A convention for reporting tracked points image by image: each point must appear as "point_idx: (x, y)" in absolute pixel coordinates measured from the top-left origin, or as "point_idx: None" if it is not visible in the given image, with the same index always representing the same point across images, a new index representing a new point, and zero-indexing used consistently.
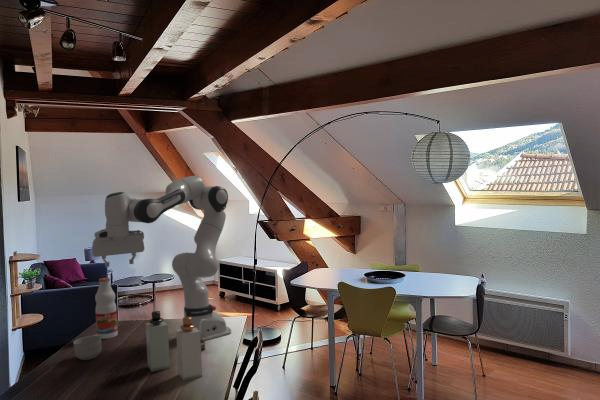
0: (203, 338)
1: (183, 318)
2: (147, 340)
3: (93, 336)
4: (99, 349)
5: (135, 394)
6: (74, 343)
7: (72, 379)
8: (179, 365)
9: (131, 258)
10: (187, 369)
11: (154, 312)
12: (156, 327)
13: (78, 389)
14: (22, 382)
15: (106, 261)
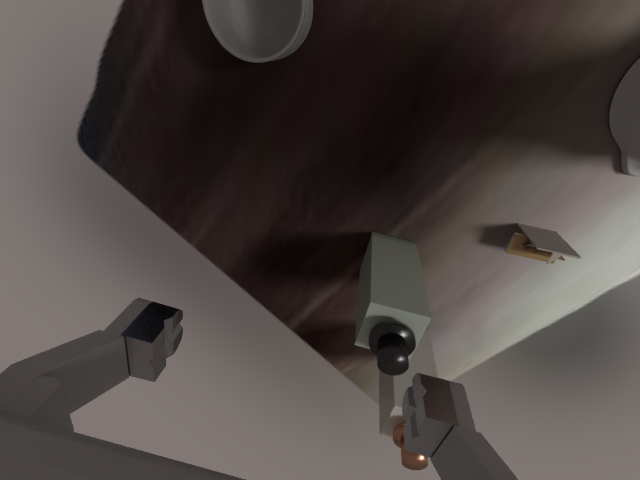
0: (631, 173)
1: (403, 460)
2: (366, 284)
3: None
4: (296, 49)
5: (290, 329)
6: (204, 5)
7: (205, 171)
8: None
9: (461, 440)
10: None
11: (386, 365)
12: None
13: (210, 237)
14: (96, 90)
15: (112, 387)
